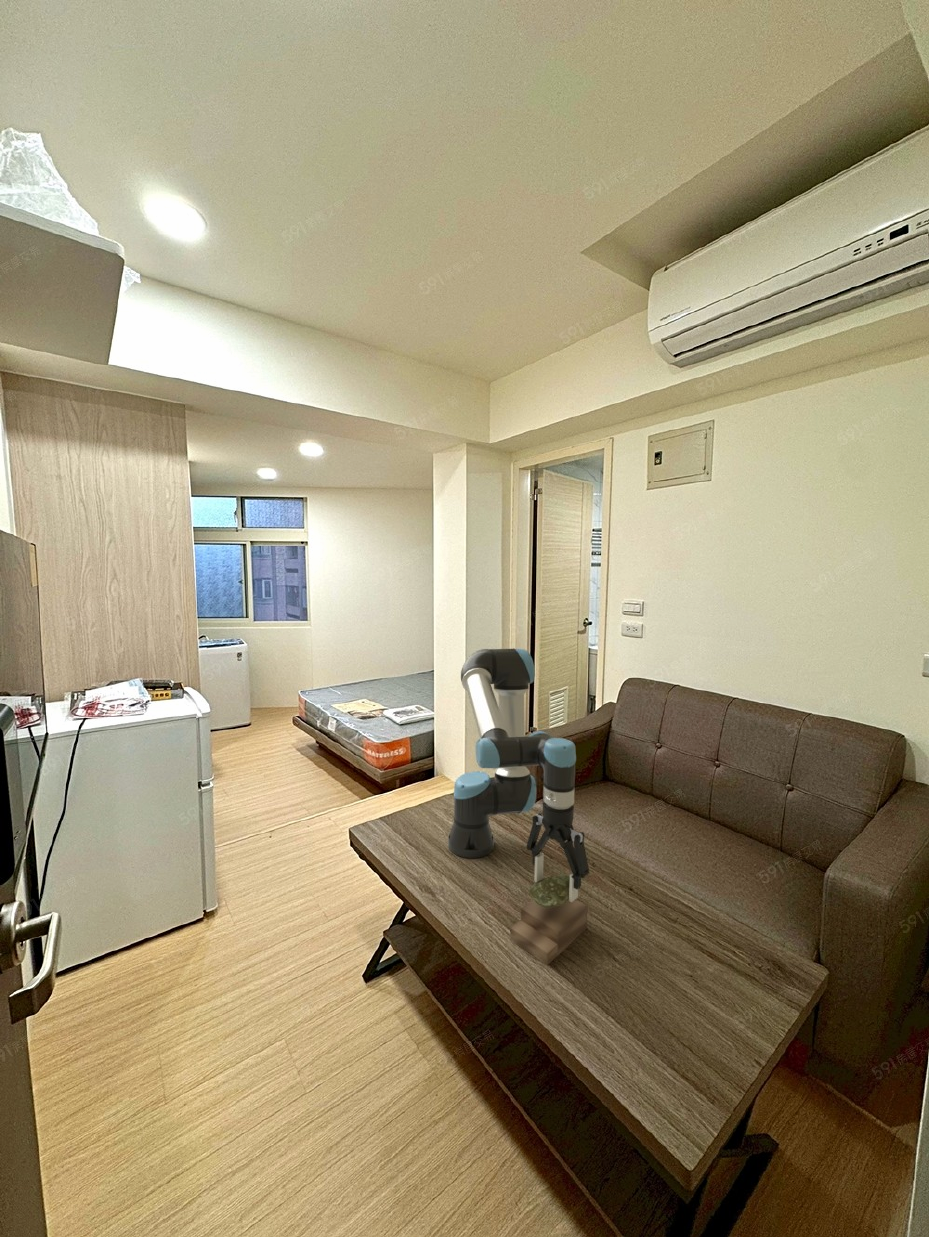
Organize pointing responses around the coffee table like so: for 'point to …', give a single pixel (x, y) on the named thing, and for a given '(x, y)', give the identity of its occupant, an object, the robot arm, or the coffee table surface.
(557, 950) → the block
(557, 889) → the seashell
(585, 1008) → the coffee table surface
